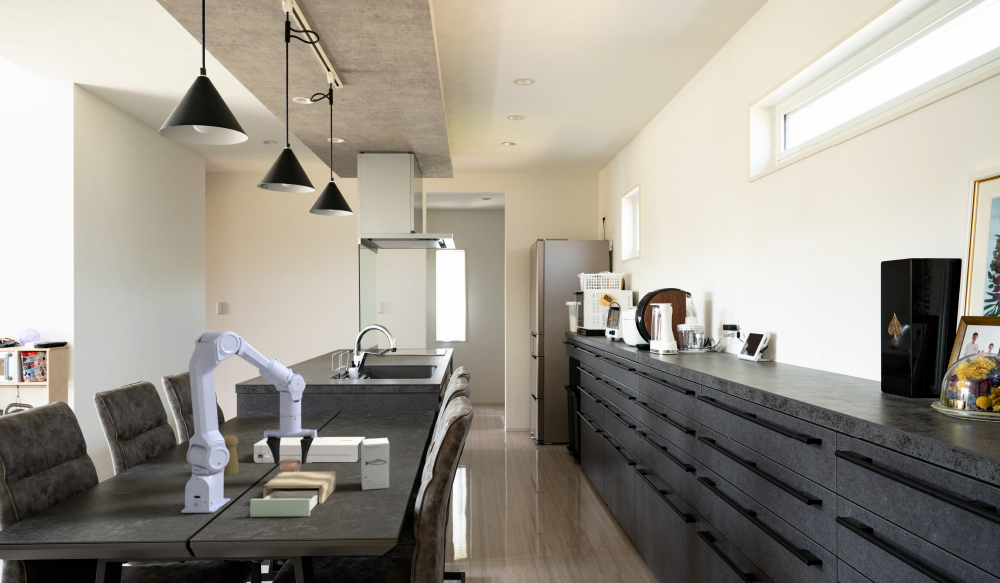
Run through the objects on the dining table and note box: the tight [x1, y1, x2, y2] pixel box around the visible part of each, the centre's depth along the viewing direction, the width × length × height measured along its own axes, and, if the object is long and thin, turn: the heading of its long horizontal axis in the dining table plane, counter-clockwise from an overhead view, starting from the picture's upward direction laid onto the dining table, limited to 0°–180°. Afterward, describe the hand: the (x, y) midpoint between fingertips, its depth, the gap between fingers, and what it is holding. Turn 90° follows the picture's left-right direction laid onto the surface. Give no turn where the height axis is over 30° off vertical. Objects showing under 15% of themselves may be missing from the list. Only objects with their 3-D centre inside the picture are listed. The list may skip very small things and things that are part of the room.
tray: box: [249, 490, 319, 518], centre depth 150 cm, size 13×14×4 cm
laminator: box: [252, 436, 367, 464], centre depth 198 cm, size 34×12×6 cm, turn 90°
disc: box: [279, 458, 302, 471], centre depth 171 cm, size 6×6×2 cm
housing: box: [262, 470, 337, 504], centre depth 159 cm, size 13×15×5 cm
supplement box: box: [360, 437, 390, 491], centre depth 168 cm, size 7×7×13 cm
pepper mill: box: [222, 435, 240, 476], centre depth 181 cm, size 6×6×11 cm
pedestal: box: [280, 467, 301, 472], centre depth 171 cm, size 4×4×4 cm
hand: (290, 462), depth 172 cm, fingers open, 7 cm apart
